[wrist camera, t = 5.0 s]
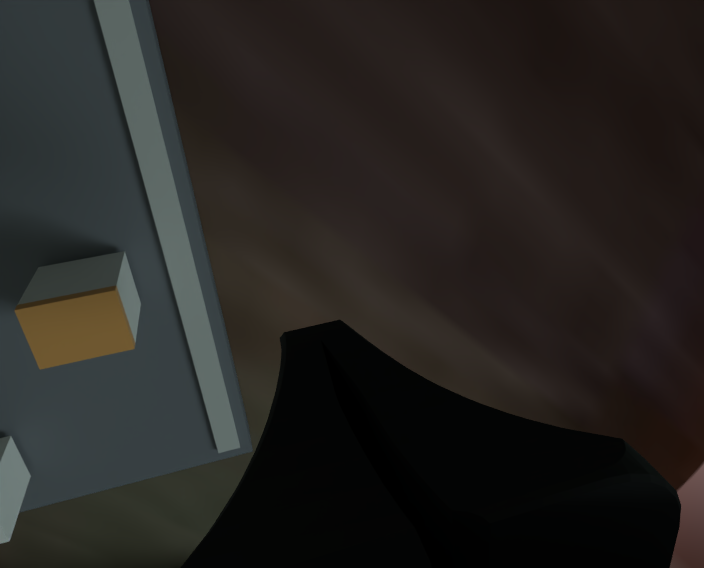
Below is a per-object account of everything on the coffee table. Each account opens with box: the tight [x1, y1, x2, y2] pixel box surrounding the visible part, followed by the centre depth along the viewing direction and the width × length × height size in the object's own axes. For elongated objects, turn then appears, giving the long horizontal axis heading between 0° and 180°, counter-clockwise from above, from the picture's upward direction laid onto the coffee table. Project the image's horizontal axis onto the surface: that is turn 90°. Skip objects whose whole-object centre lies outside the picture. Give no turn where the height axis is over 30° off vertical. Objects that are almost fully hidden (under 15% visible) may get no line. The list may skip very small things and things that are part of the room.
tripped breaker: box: [14, 251, 141, 370], centre depth 16 cm, size 2×2×3 cm
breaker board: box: [0, 0, 253, 512], centre depth 17 cm, size 16×12×2 cm
